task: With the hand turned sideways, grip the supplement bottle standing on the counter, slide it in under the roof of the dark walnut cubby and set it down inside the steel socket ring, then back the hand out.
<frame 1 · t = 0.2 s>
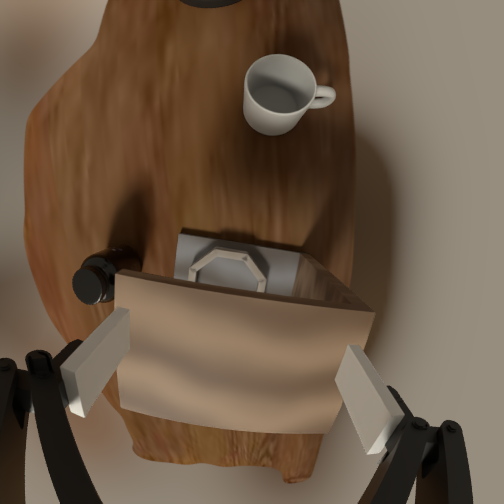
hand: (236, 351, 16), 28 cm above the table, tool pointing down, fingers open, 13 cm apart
mug: (282, 110, 39), on the table
supplement bottle: (123, 264, 43), on the table
awning stand: (226, 283, 44), on the table
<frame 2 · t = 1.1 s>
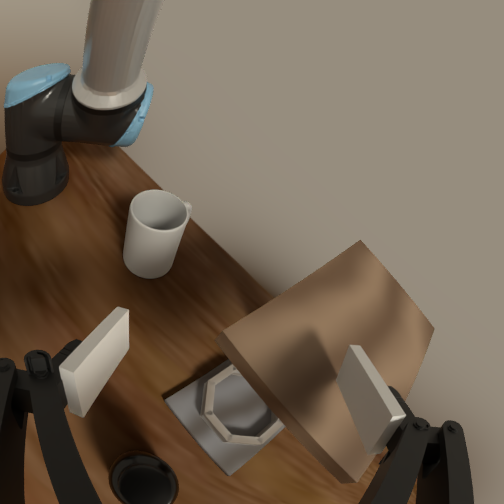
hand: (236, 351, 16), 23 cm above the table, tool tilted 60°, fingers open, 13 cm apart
mug: (155, 253, 46), on the table
supplement bottle: (139, 475, 24), on the table
awning stand: (238, 407, 35), on the table
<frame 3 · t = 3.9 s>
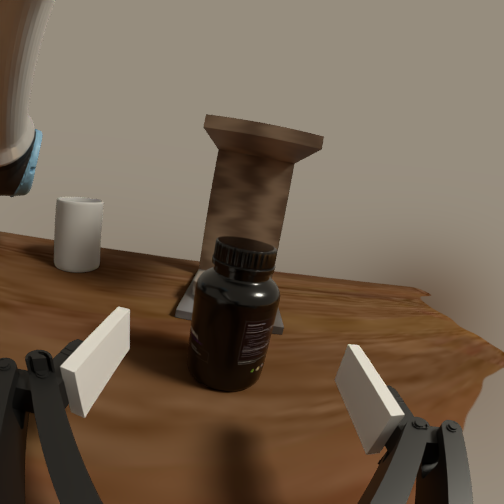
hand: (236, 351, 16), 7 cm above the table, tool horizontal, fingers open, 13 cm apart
mug: (79, 262, 43), on the table
supplement bottle: (223, 372, 25), on the table
awning stand: (231, 301, 41), on the table
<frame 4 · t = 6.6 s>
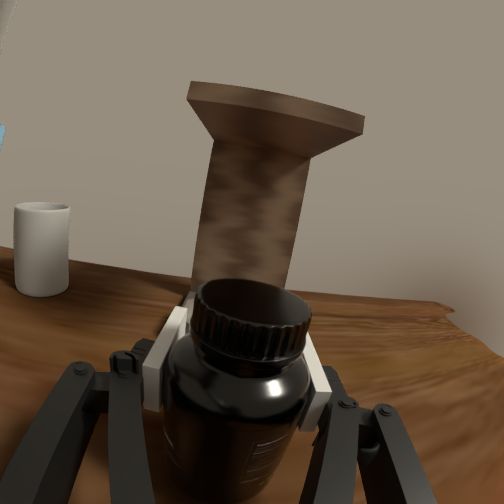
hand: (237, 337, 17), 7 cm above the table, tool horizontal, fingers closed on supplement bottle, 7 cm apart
mug: (46, 282, 33), on the table
supplement bottle: (218, 467, 14), on the table, touching gripper
awning stand: (230, 340, 31), on the table
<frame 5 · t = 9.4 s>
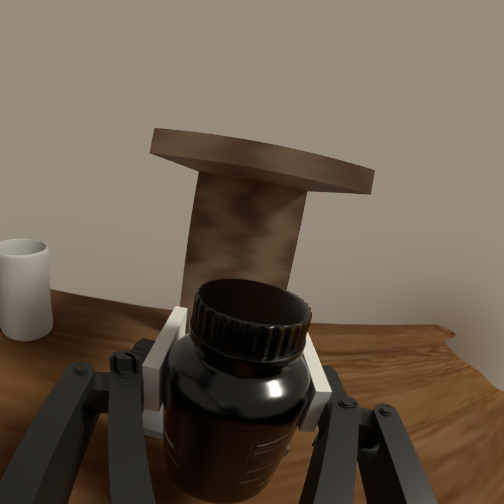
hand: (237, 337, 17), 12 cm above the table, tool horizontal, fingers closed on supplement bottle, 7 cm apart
mug: (31, 321, 30), on the table
supplement bottle: (218, 467, 14), point 4 cm above the table, touching gripper
awning stand: (218, 393, 28), on the table
when the fingers open (10 cm above the table, at t = 12.5 s): supplement bottle drops 1 cm, resting on awning stand.
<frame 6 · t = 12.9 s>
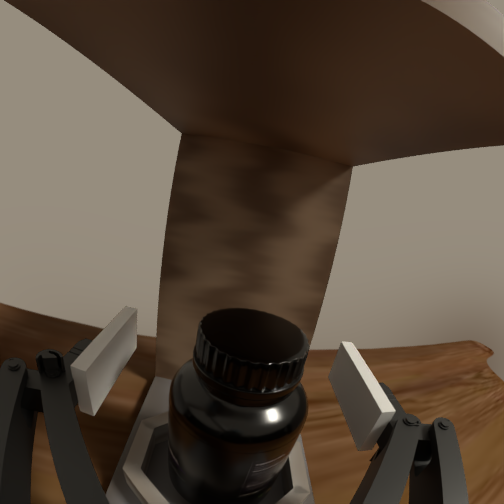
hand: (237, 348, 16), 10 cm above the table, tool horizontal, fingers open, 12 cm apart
supplement bottle: (219, 478, 14), point 1 cm above the table, touching awning stand
awning stand: (214, 482, 14), on the table
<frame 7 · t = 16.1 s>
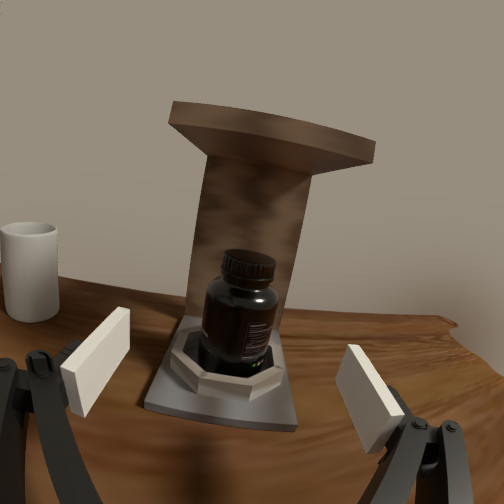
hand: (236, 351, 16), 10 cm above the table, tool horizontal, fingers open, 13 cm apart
mug: (37, 304, 31), on the table
supplement bottle: (228, 367, 28), point 1 cm above the table, touching awning stand
awning stand: (225, 372, 28), on the table
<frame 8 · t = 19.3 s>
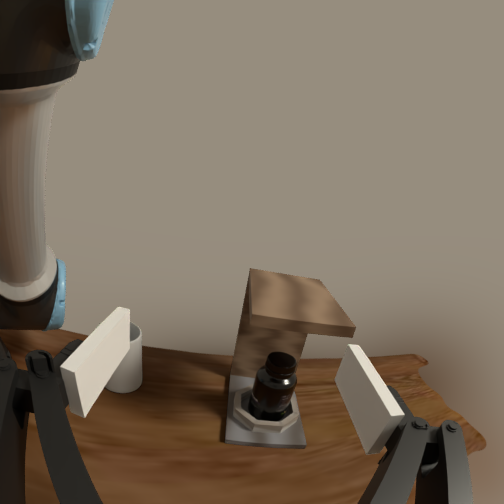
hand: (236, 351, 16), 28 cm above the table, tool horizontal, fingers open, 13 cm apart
mug: (122, 374, 48), on the table
supplement bottle: (265, 412, 45), point 1 cm above the table, touching awning stand
awning stand: (263, 414, 45), on the table
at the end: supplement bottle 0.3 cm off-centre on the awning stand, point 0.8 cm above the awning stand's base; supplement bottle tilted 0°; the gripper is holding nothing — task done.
